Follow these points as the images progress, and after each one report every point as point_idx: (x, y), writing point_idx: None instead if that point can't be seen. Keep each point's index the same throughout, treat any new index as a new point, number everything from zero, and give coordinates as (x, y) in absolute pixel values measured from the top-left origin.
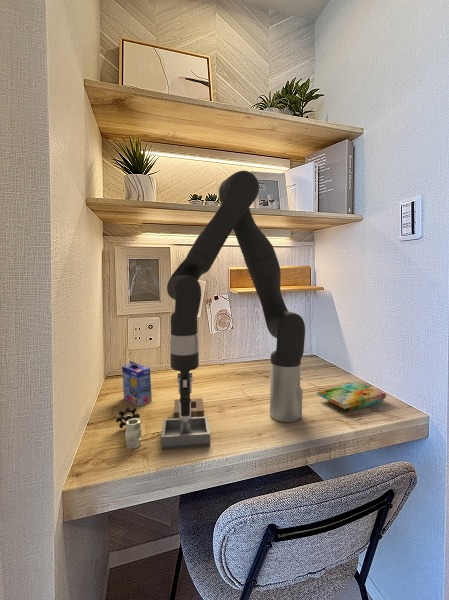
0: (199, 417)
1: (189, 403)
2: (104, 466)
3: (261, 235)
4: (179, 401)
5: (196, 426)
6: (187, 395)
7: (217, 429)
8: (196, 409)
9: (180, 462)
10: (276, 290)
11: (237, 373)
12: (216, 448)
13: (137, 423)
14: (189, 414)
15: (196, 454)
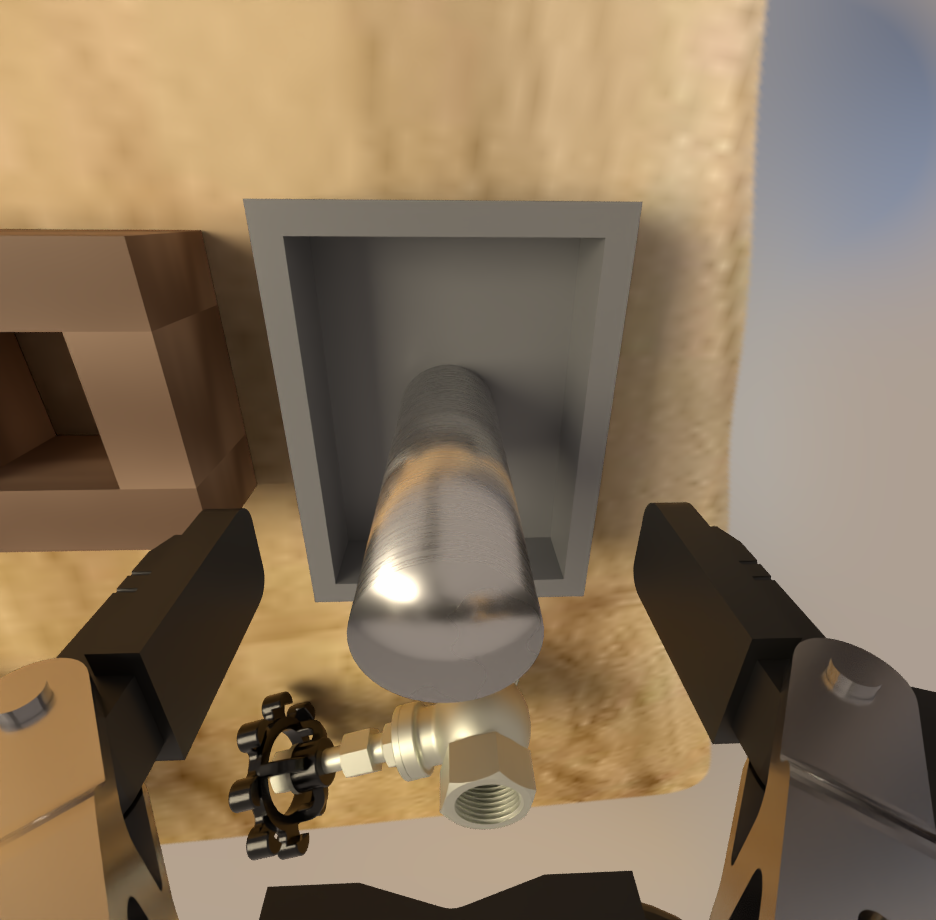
0: (276, 301)
1: (788, 622)
2: (626, 727)
3: None
4: (489, 690)
5: (319, 318)
6: (210, 587)
7: (315, 87)
8: (110, 333)
9: (718, 429)
10: None
11: None
12: (641, 145)
13: (515, 780)
14: (692, 508)
15: (670, 325)
